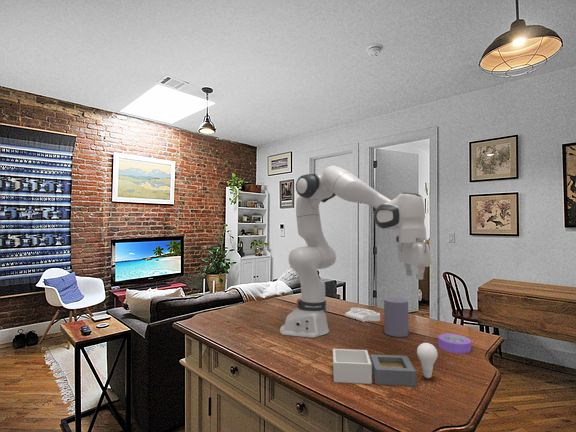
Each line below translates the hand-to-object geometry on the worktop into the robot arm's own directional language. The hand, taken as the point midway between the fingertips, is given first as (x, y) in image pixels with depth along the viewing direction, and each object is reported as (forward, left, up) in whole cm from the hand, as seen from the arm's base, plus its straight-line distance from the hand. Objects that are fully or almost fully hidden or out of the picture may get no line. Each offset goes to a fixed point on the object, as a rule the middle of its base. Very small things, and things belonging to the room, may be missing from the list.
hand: (414, 277), depth 118 cm
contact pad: (-10, -10, -28) cm, 32 cm away
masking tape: (+20, +18, -31) cm, 41 cm away
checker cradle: (-10, -10, -30) cm, 34 cm away
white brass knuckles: (-12, +58, -31) cm, 67 cm away
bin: (-23, -10, -30) cm, 39 cm away
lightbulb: (+1, -10, -31) cm, 32 cm away
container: (0, +33, -31) cm, 45 cm away
